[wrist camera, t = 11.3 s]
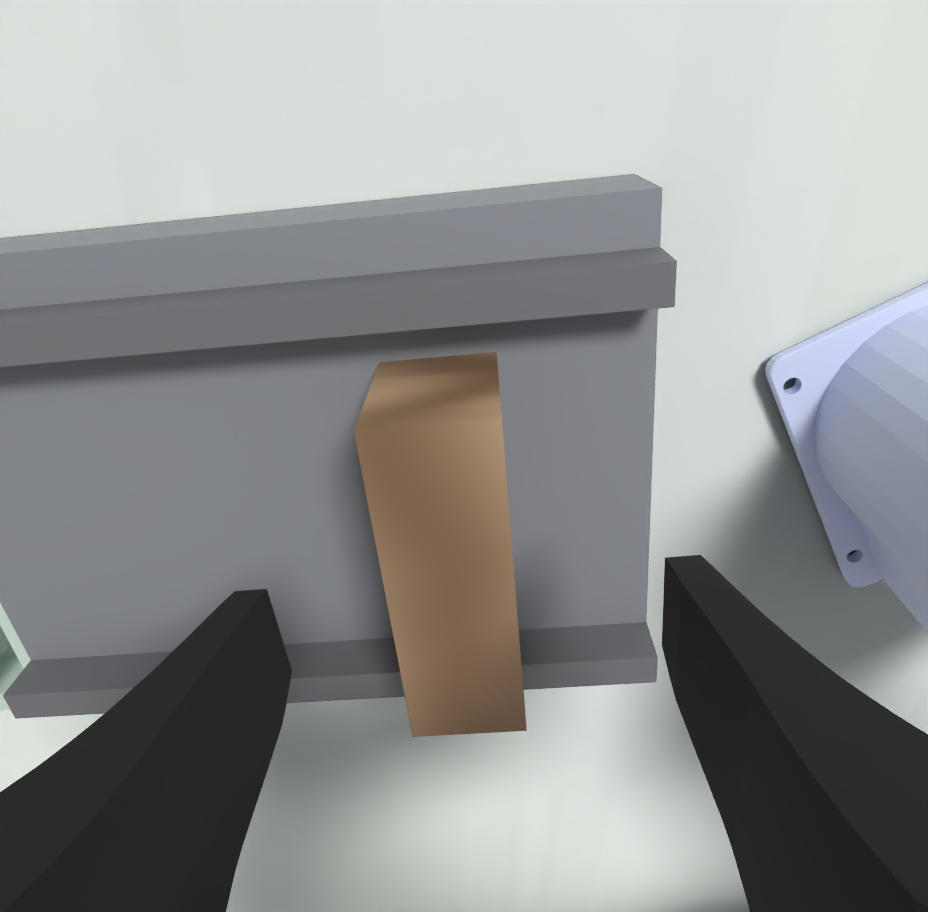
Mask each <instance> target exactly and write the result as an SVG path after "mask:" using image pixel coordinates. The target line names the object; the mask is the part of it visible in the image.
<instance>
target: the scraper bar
mask: <svg viewBox="0 0 928 912" xmlns="http://www.w3.org/2000/svg"><path fill="white" fill-rule="evenodd" d="M354 434H355V439H356V445H357V450H358V455H359V460H360V465H361V470H362V476H363V481H364V486H365V491H366V496H367V502H368V507H369V512H370V517H371V522H372V528H373V533H374V538H375V543H376V548H377V554H378V559H379V564H380V569H381V574H382V579H383V585H384V590H385V595H386V600H387V605H388V611H389V616H390V621H391V626H392V631H393V637H394V642H395V647H396V652H397V657H398V663H399V668H400V673H401V678H402V683H403V689H404V694H405V699H406V704H407V709H408V714H409V720H410V725H411V730H412V735H413V737H416V736H434V735H453V734H471V733H490V732H509V731H527V730H526V717H525V705H524V692H523V679H522V666H521V653H520V641H519V628H518V615H517V603H516V590H515V577H514V565H513V552H512V539H511V527H510V514H509V501H508V489H507V476H506V463H505V451H504V438H503V425H502V413H501V400H500V387H499V375H498V362H497V352H489V353H478V354H466V355H455V356H443V357H432V358H421V359H409V360H398V361H386V362H379V363H378V366H377V369H376V372H375V374H374V377H373V380H372V383H371V385H370V388H369V391H368V393H367V396H366V399H365V402H364V404H363V407H362V410H361V413H360V415H359V418H358V421H357V423H356V426H355V429H354Z"/></svg>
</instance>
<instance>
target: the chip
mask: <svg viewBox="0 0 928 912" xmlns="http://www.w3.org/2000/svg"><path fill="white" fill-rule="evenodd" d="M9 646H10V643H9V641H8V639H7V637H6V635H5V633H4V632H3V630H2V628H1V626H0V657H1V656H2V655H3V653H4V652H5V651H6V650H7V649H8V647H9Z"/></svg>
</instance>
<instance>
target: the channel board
mask: <svg viewBox="0 0 928 912" xmlns="http://www.w3.org/2000/svg"><path fill="white" fill-rule="evenodd" d="M661 206H662V187H660V186H658V185H656V184H654V183H652V182H650V181H648V180H646V179H644V178H642V177H640V176H638V175H636V174H630V175H620V176H610V177H601V178H591V179H581V180H571V181H561V182H551V183H541V184H531V185H521V186H512V187H502V188H492V189H482V190H472V191H462V192H452V193H442V194H432V195H423V196H413V197H403V198H393V199H383V200H373V201H363V202H353V203H343V204H334V205H324V206H314V207H304V208H294V209H284V210H274V211H264V212H255V213H245V214H235V215H225V216H215V217H205V218H195V219H185V220H175V221H166V222H156V223H146V224H136V225H126V226H116V227H106V228H96V229H86V230H77V231H67V232H57V233H47V234H37V235H27V236H17V237H7V238H0V603H1V605H2V607H3V609H4V611H5V613H6V614H7V616H8V618H9V620H10V622H11V624H12V626H13V628H14V629H15V631H16V633H17V635H18V637H19V639H20V641H21V643H22V645H23V646H24V648H25V650H26V652H27V654H28V656H29V658H30V660H31V661H30V662H29V663H28V664H27V666H26V667H25V668H24V669H23V671H22V672H21V673H20V674H19V676H18V677H17V678H16V680H15V681H14V682H13V683H12V685H11V686H10V687H9V688H8V690H7V691H6V692H5V693H4V695H3V697H4V699H5V701H6V702H7V704H8V706H9V708H10V709H11V711H12V713H13V715H14V716H15V718H32V717H50V716H67V715H85V714H103V713H106V712H107V711H108V710H109V709H110V708H112V707H113V706H114V705H115V704H116V703H117V702H118V701H119V700H121V699H122V698H123V697H124V696H125V695H126V694H127V693H128V692H129V691H131V690H132V689H133V688H134V687H135V686H136V685H137V684H138V683H140V682H141V681H142V680H143V679H144V678H145V677H146V676H147V675H148V674H150V673H151V672H152V671H153V670H154V669H155V668H156V667H157V666H158V665H159V664H160V663H161V662H162V661H163V660H164V659H165V658H166V657H167V656H168V655H169V654H170V653H171V652H172V651H174V650H175V649H176V648H177V647H178V646H179V645H180V644H181V643H182V642H183V641H184V640H185V639H186V638H187V637H188V636H189V635H190V634H191V633H192V632H193V631H194V630H195V629H196V628H197V627H198V626H199V625H200V624H201V623H202V622H203V621H204V620H205V619H206V618H207V617H208V616H209V615H210V614H211V613H212V612H213V611H214V610H215V609H216V608H217V607H218V606H219V605H220V604H221V603H222V602H223V601H224V600H226V599H227V598H228V597H229V596H230V595H231V594H232V593H233V592H234V591H244V590H257V589H267V591H268V594H269V597H270V601H271V604H272V607H273V610H274V614H275V617H276V620H277V623H278V627H279V630H280V633H281V636H282V639H283V643H284V646H285V649H286V652H287V656H288V659H289V662H290V665H291V669H292V675H291V681H290V686H289V692H288V698H287V703H296V702H314V701H331V700H349V699H367V698H384V697H402V696H405V694H404V689H403V683H402V678H401V673H400V668H399V663H398V657H397V652H396V647H395V642H394V637H393V631H392V626H391V621H390V616H389V611H388V605H387V600H386V595H385V590H384V585H383V579H382V574H381V569H380V564H379V559H378V554H377V548H376V543H375V538H374V533H373V528H372V522H371V517H370V512H369V507H368V502H367V496H366V491H365V486H364V481H363V476H362V470H361V465H360V460H359V455H358V450H357V445H356V439H355V434H354V429H355V426H356V423H357V421H358V418H359V415H360V413H361V410H362V407H363V404H364V402H365V399H366V396H367V393H368V391H369V388H370V385H371V383H372V380H373V377H374V374H375V372H376V369H377V366H378V363H379V362H386V361H398V360H409V359H421V358H432V357H443V356H455V355H466V354H478V353H489V352H497V362H498V375H499V387H500V400H501V413H502V425H503V438H504V451H505V463H506V476H507V489H508V501H509V514H510V527H511V539H512V552H513V565H514V577H515V590H516V603H517V615H518V628H519V641H520V653H521V666H522V679H523V690H525V689H543V688H560V687H578V686H596V685H613V684H631V683H648V682H656V678H657V654H656V651H655V648H654V645H653V642H652V639H651V635H650V632H649V629H648V626H647V623H646V613H647V586H648V559H649V532H650V505H651V477H652V450H653V423H654V396H655V369H656V342H657V314H658V308H668V307H674V306H675V285H676V265H677V261H676V260H675V259H674V258H673V257H671V256H670V255H669V254H668V253H667V252H665V251H664V250H663V249H662V248H660V233H661Z"/></svg>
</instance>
